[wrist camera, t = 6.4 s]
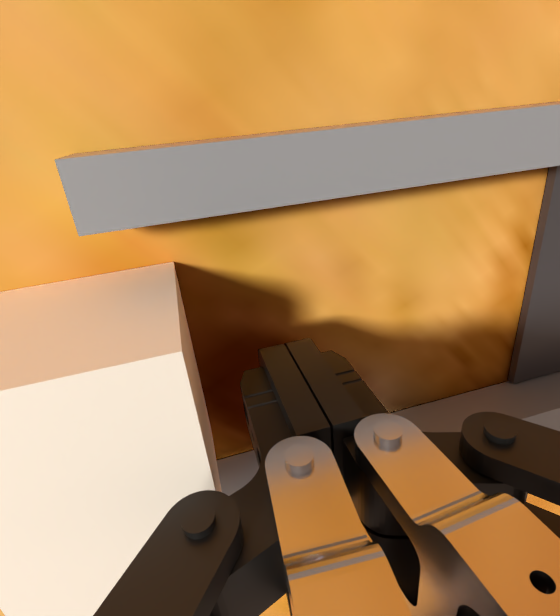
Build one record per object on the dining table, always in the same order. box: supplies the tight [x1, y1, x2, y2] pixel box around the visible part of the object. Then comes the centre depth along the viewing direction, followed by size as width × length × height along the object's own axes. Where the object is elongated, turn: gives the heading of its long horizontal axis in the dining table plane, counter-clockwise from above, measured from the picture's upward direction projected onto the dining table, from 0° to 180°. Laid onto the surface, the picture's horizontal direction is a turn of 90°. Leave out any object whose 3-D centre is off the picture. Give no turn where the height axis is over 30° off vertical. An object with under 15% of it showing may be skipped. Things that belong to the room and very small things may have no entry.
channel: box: [55, 101, 560, 496], centre depth 13 cm, size 20×12×2 cm, turn 95°
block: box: [0, 262, 222, 616], centre depth 10 cm, size 4×6×5 cm
